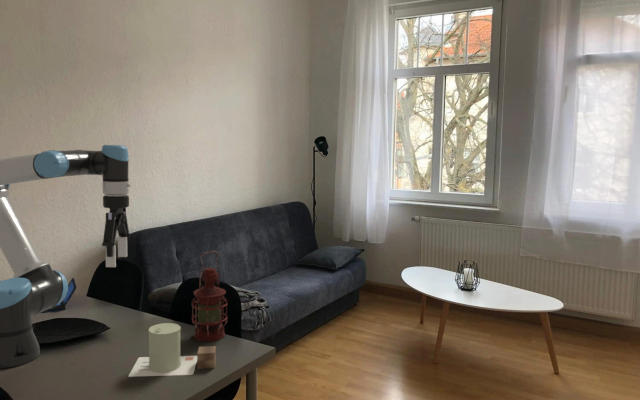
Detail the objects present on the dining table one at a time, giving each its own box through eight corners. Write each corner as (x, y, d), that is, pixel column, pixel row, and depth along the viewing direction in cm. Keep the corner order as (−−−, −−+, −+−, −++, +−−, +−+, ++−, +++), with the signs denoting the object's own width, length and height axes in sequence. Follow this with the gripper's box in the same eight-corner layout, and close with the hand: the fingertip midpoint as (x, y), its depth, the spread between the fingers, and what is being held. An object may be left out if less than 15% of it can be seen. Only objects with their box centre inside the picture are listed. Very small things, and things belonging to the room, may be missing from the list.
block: (197, 369, 148) (197, 353, 147) (199, 362, 153) (199, 346, 152) (214, 369, 149) (214, 353, 148) (215, 361, 154) (215, 346, 153)
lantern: (212, 327, 182) (212, 246, 179) (234, 335, 174) (235, 251, 171) (184, 336, 173) (184, 251, 169) (206, 346, 165) (206, 257, 162)
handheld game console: (38, 302, 205) (37, 280, 204) (74, 298, 211) (73, 276, 210) (38, 314, 191) (37, 290, 190) (77, 309, 198) (76, 286, 197)
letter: (128, 377, 142) (128, 376, 142) (138, 357, 155) (138, 357, 155) (193, 375, 144) (193, 374, 144) (198, 356, 157) (198, 355, 157)
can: (141, 367, 147) (141, 328, 146) (164, 356, 156) (164, 319, 154) (165, 375, 143) (164, 334, 142) (187, 363, 151) (187, 324, 150)
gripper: (117, 199, 144) (118, 271, 146) (138, 191, 168) (138, 252, 171) (90, 199, 143) (91, 271, 145) (114, 190, 167) (115, 252, 170)
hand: (117, 261), depth 158 cm, fingers open, 13 cm apart
